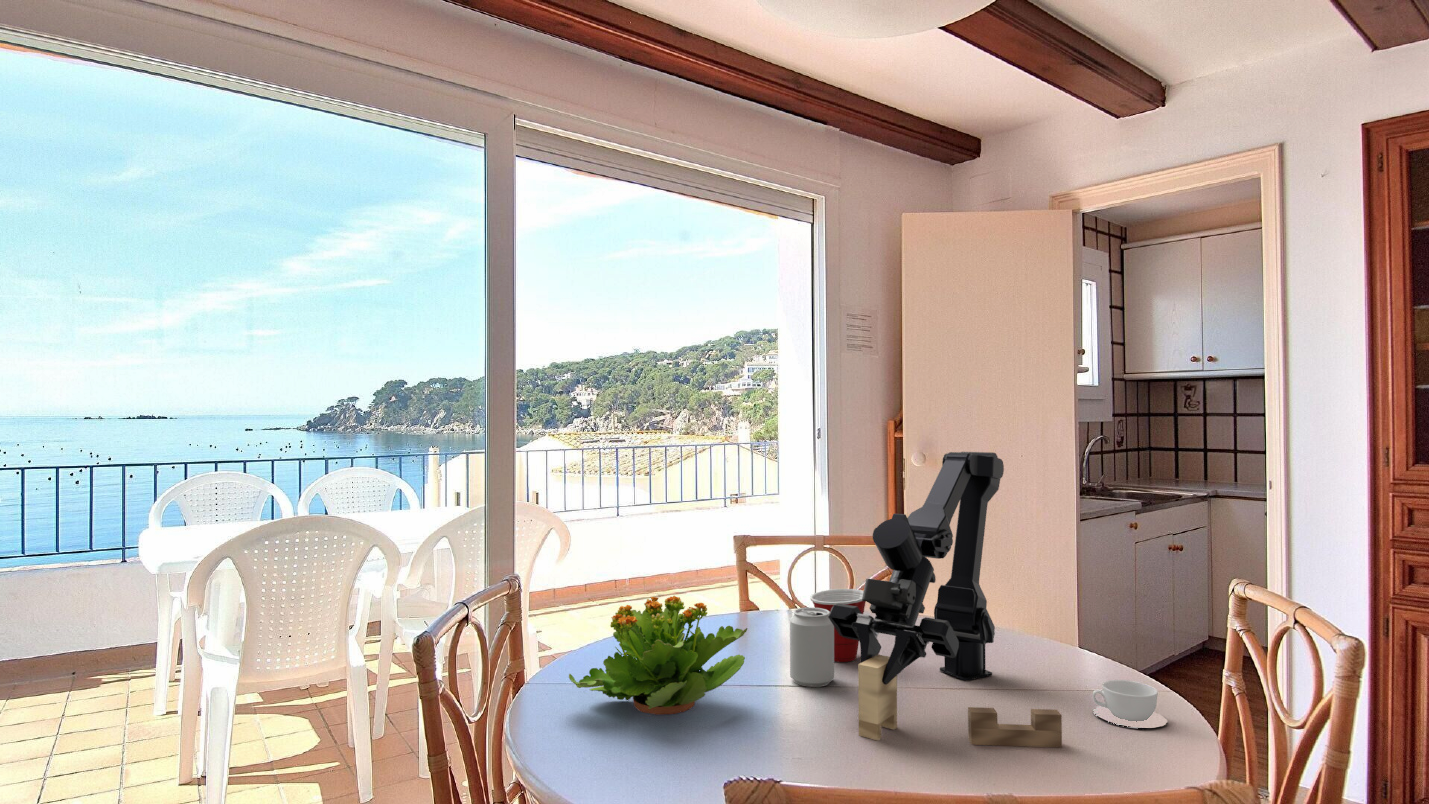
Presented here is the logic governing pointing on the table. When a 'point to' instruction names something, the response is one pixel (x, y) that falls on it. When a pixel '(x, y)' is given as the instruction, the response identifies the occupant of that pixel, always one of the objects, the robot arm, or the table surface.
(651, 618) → the potted flower
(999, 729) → the lower notched wooden block
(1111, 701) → the teacup
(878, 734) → the tall wooden block
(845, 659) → the plastic cup
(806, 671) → the can
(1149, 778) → the table surface
